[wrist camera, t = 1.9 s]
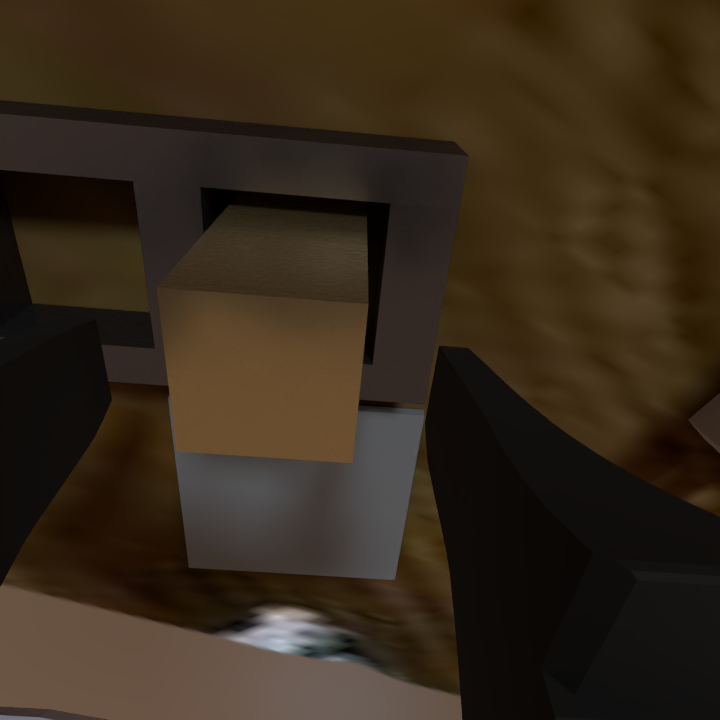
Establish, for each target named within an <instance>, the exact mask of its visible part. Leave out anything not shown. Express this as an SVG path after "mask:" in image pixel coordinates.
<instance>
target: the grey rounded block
mask: <svg viewBox="0 0 720 720" xmlns="http://www.w3.org/2000/svg"><path fill="white" fill-rule="evenodd" d="M688 420H689V421H690V423H691V424H692V425H693V426H694V428H695V429H696V430H697V431H698V432H699V433H700V434H701V436H702V437H703V438H704V439H705V440H706V441H707V442H708V443H709V444H710V445H711V446H712V447H714V448H715V449H716V450H717V451H718V452H719V453H720V393H719V394H718V395H717V396H716V397H714V398H713V399H712V400H711V401H710V402H709V403H707V404H706V405H705V406H704V407H703V408H701V409H700V410H699V411H698V412H697V413H696V414H694V415H693V416H692V417H691V418H690V419H688Z"/></svg>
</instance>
